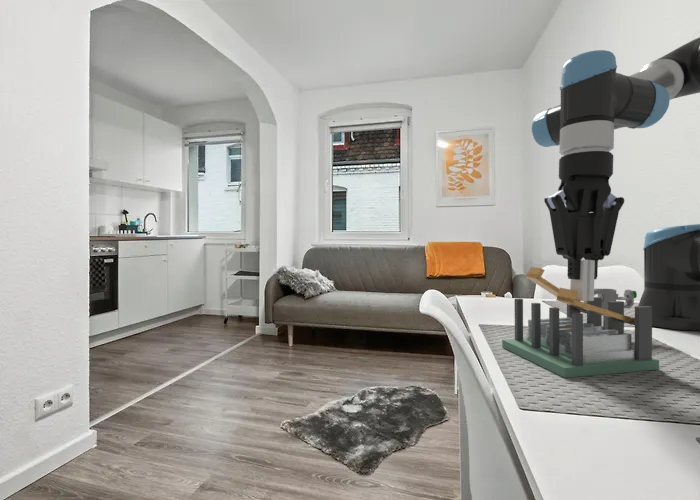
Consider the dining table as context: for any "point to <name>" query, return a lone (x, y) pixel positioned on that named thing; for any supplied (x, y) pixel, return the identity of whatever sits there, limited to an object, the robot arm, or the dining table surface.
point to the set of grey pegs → (641, 327)
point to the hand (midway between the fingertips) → (581, 299)
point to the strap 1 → (546, 284)
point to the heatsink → (589, 341)
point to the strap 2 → (590, 306)
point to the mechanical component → (611, 295)
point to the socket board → (564, 363)
